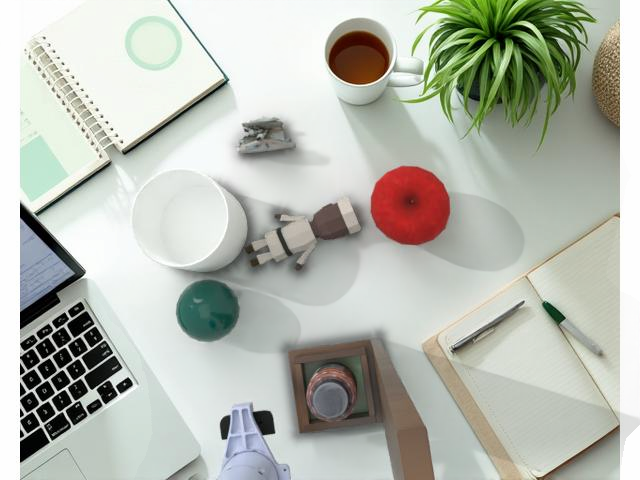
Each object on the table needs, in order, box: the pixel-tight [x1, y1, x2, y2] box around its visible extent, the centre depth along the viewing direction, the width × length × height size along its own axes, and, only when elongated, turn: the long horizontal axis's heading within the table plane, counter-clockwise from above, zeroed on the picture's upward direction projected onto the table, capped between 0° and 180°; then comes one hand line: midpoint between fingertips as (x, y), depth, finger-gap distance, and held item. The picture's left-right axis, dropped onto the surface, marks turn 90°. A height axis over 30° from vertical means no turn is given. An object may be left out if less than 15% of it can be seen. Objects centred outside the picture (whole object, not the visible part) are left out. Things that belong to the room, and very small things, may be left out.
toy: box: [243, 195, 362, 272], centre depth 80 cm, size 8×5×15 cm
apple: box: [370, 165, 451, 246], centre depth 77 cm, size 10×10×11 cm
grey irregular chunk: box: [235, 115, 297, 155], centre depth 81 cm, size 4×8×7 cm, turn 97°
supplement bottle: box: [306, 363, 357, 422], centre depth 74 cm, size 6×6×11 cm
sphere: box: [175, 278, 241, 343], centre depth 78 cm, size 8×8×8 cm
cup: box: [130, 167, 248, 273], centre depth 77 cm, size 12×12×12 cm
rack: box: [287, 337, 436, 480], centre depth 52 cm, size 11×12×57 cm
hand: (262, 453), depth 70 cm, fingers open, 7 cm apart
